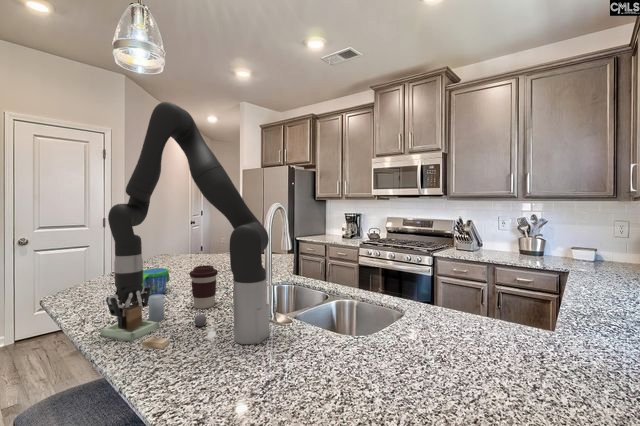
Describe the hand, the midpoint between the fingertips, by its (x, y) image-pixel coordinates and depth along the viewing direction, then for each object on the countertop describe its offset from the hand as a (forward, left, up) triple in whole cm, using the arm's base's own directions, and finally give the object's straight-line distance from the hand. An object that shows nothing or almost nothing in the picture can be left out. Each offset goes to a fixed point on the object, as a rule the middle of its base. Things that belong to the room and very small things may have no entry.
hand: (130, 324), depth 101 cm
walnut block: (0, 0, -1) cm, 1 cm away
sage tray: (0, 0, -2) cm, 2 cm away
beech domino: (-15, +5, -3) cm, 16 cm away
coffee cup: (-5, -28, -3) cm, 29 cm away
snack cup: (+26, -35, -3) cm, 44 cm away
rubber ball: (-17, -11, -1) cm, 20 cm away
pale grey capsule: (+1, -11, -2) cm, 11 cm away
